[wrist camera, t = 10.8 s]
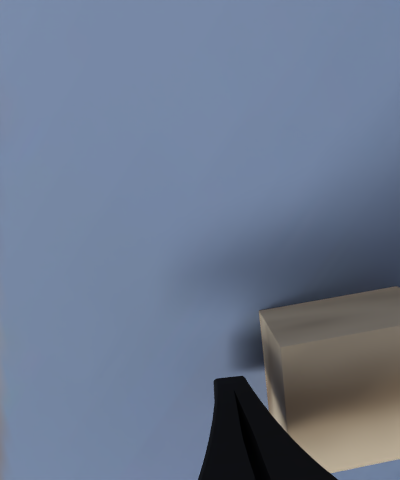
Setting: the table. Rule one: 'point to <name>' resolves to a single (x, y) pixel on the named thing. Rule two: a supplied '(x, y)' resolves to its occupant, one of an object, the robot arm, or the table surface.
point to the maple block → (337, 376)
